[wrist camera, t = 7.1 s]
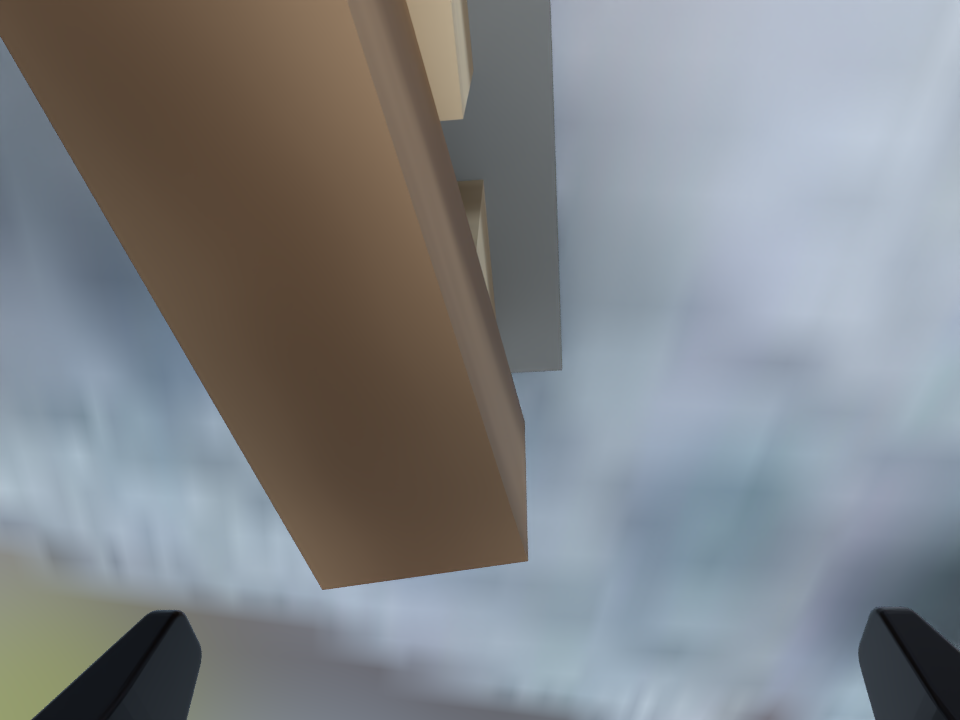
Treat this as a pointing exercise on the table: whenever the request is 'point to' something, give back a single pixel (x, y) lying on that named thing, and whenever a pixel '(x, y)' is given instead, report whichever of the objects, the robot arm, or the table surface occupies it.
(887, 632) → the robot arm
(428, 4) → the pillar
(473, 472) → the lintel
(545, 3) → the mat
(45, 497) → the table surface
